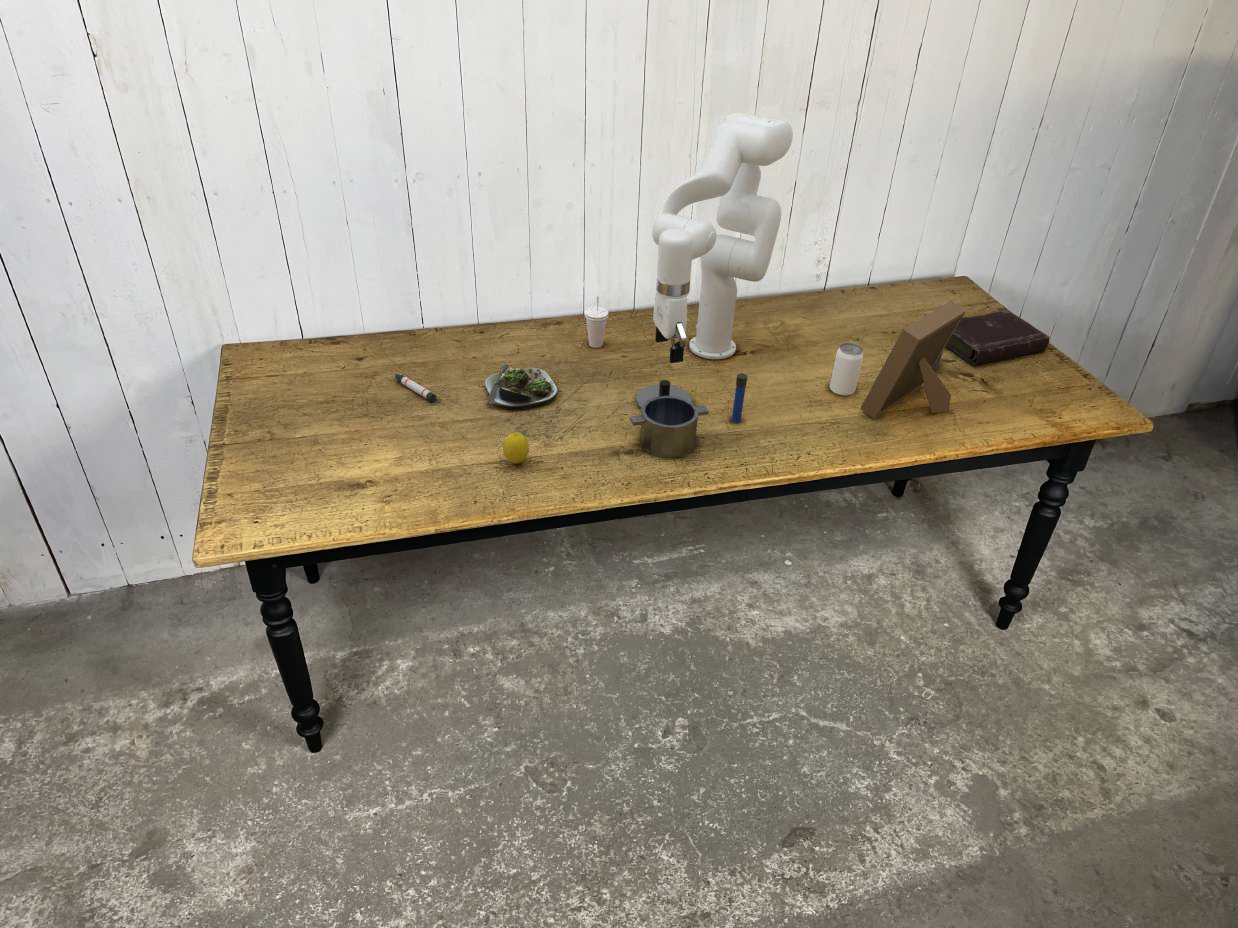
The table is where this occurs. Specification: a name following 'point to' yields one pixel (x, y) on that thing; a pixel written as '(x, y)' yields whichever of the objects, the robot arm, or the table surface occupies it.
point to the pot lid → (660, 392)
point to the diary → (995, 338)
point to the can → (846, 369)
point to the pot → (668, 426)
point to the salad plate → (520, 388)
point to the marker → (416, 387)
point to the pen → (739, 397)
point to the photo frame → (915, 363)
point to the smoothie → (596, 324)
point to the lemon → (515, 448)
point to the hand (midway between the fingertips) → (668, 351)
